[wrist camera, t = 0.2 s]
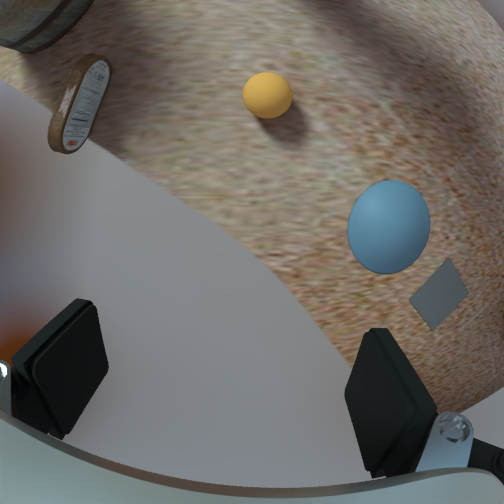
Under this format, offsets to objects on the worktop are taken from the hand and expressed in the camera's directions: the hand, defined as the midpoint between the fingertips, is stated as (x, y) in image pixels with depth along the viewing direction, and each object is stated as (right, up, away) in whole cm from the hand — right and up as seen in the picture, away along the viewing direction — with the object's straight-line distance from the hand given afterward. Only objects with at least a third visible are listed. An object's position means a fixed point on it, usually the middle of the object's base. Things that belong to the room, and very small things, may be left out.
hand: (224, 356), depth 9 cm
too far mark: (+34, -4, +32) cm, 47 cm away
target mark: (+21, +7, +29) cm, 37 cm away
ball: (+3, +22, +22) cm, 31 cm away
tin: (-23, +25, +25) cm, 42 cm away
